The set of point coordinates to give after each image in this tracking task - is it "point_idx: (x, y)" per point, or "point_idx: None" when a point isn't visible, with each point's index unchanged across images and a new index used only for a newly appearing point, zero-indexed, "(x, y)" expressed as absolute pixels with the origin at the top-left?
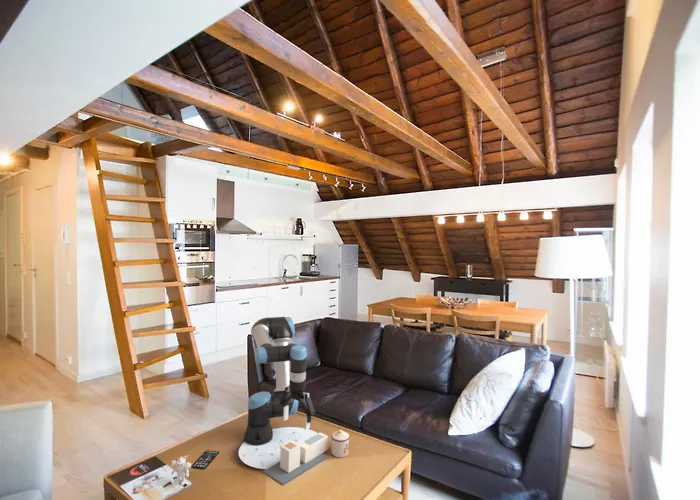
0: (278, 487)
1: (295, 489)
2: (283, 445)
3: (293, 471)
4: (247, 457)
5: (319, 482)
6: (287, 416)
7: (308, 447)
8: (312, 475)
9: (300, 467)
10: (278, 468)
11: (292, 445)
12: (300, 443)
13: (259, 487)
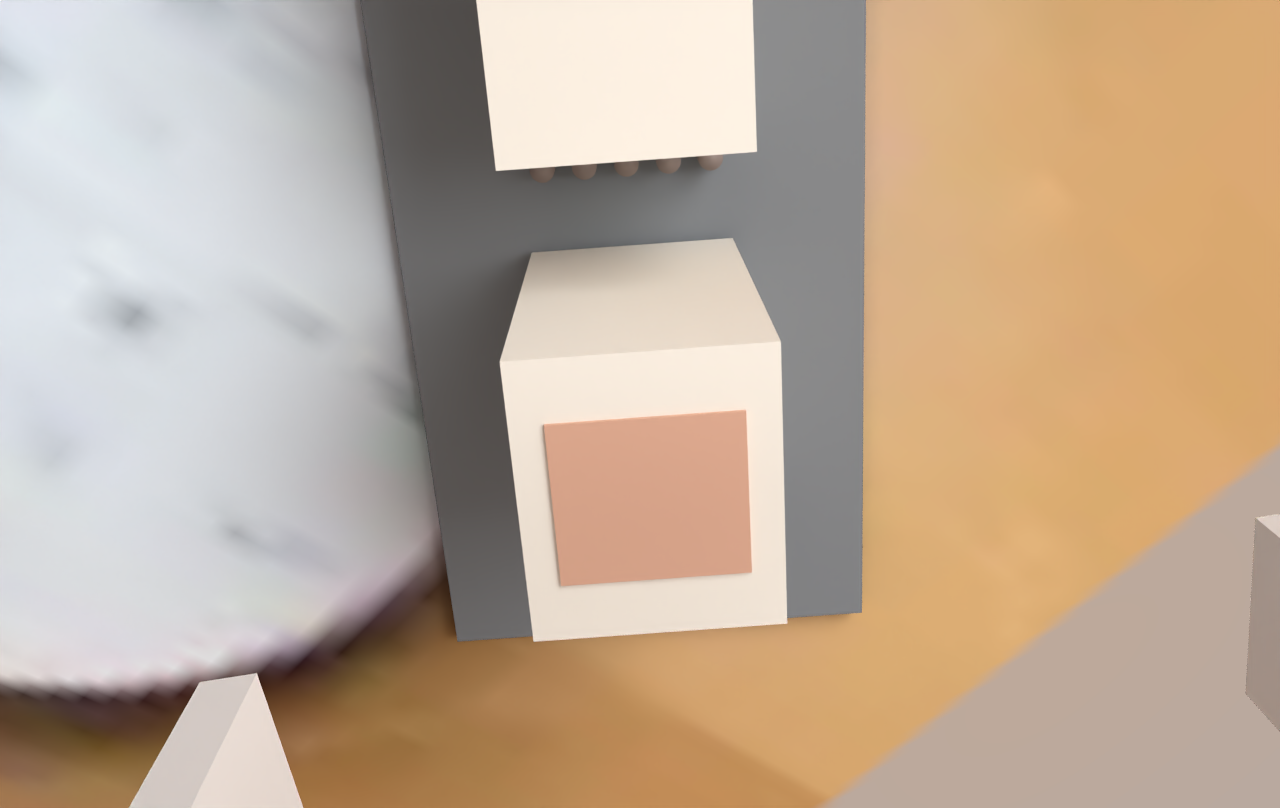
0: (841, 657)
1: (1027, 545)
2: (543, 586)
3: None
4: (13, 608)
5: (1188, 242)
6: (234, 784)
7: (753, 64)
8: (1003, 209)
9: (755, 241)
10: None
11: (674, 469)
12: (512, 89)
13: (681, 791)
